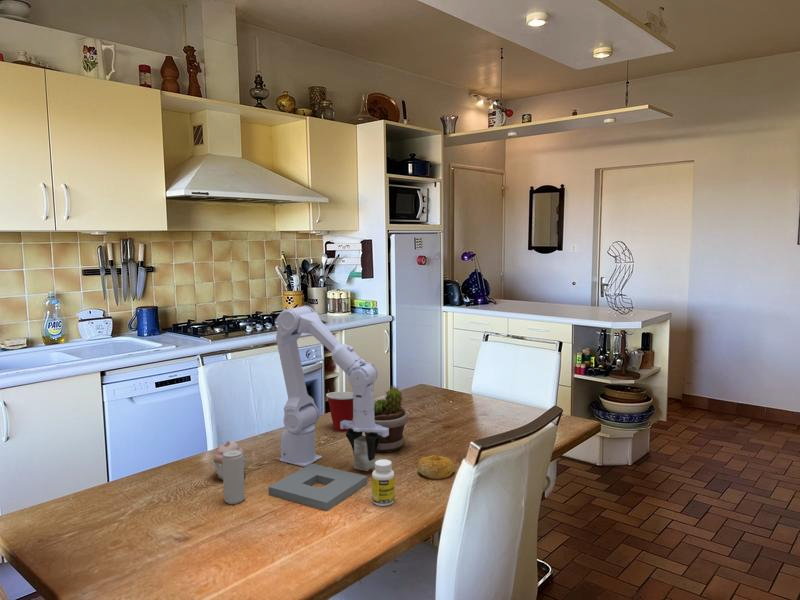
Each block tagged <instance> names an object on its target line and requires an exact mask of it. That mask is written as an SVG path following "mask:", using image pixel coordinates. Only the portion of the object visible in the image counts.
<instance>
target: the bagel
mask: <svg viewBox="0 0 800 600" xmlns="http://www.w3.org/2000/svg"><path fill="white" fill-rule="evenodd" d="M416 468H417V469H416V470H417V472H418V474H420V475H421V476H423V477H424V478H425V477H426V478H427V479H430V480H431V479H432V480H441V479H446V478H449V477H450V476H452V474H453V473H455V471H456V468H455V464H454V462H453V461H452V459H450V458H449V457H447V456H441V455H437V454H432V455H428V456H422V457H421V458H420V459H419V461H418V463H417V466H416Z"/></svg>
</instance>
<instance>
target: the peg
mask: <svg viewBox="0 0 800 600" xmlns="http://www.w3.org/2000/svg"><path fill="white" fill-rule="evenodd" d="M365 437H366V436H365V435H363V434H362V436H360V437H358V438H356V439H354V453H353V458H354V461H353V462H354V463H353V464H354V469H357V470H360V471H365V472H368V471H369V470H371V469H373V468H375V462H376V458H375V459H373V460H371V461H369V459H368V447H367V442H366V439H365Z"/></svg>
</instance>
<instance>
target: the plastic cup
mask: <svg viewBox="0 0 800 600" xmlns="http://www.w3.org/2000/svg"><path fill="white" fill-rule="evenodd" d="M325 397H326V398H327V402H328V405H329V410H330V415H331V416H330V417H331V421H332V425H333V430H335V431H337V432H340V433H341V432H342V433H343V432H348V429H340V422H341V421H343V420H348V421H353V391H352V392H350V391H333V392H327V393H326V394H325Z"/></svg>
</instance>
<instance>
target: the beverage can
mask: <svg viewBox="0 0 800 600" xmlns="http://www.w3.org/2000/svg"><path fill="white" fill-rule="evenodd" d="M222 463H223V480H222V481H223V482H222V483H223V500H224V502H225V503H226V504H229V505H237V504H240V503H241V502H243V501H244V500H245V498H246V494H245V493H246V492H245V489H246V488H245V466H244V465H243V454H242V451H241V450H237V449H234V450H228V451H225V452H224V453H223V456H222Z"/></svg>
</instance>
